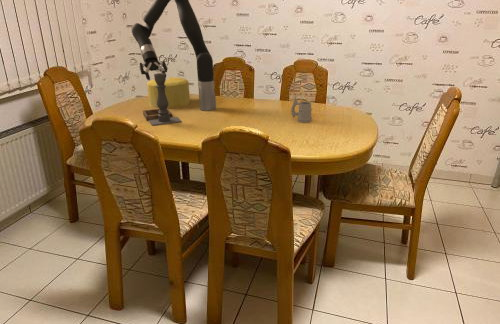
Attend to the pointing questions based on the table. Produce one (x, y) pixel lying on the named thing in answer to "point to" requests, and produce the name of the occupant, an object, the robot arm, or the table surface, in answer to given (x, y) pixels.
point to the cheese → (170, 92)
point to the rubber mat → (172, 120)
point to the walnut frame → (153, 111)
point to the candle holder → (162, 98)
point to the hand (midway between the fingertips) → (157, 78)
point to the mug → (302, 111)
